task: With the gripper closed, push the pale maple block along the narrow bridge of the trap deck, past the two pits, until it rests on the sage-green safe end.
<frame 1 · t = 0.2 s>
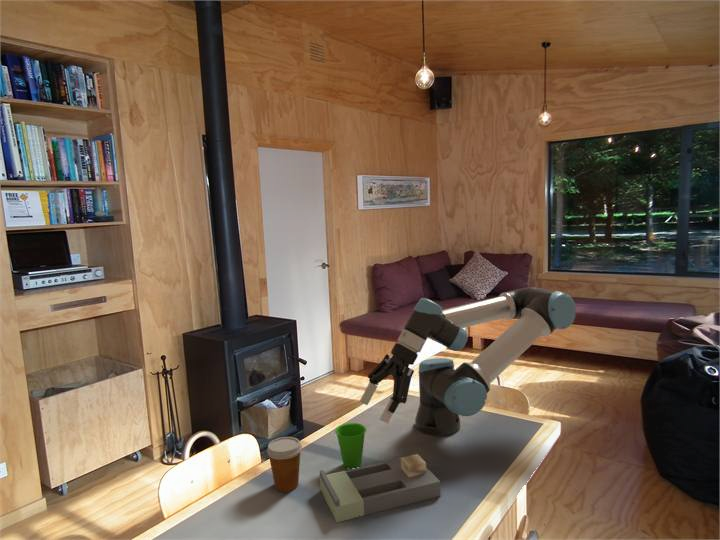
hand: (372, 412, 145), 16 cm above the table, tool tilted 35°, fingers open, 13 cm apart
disposable coffee cup: (286, 486, 136), on the table
trap deck: (379, 493, 131), on the table
cup: (352, 465, 146), on the table
block: (413, 470, 134), point 4 cm above the table, touching trap deck
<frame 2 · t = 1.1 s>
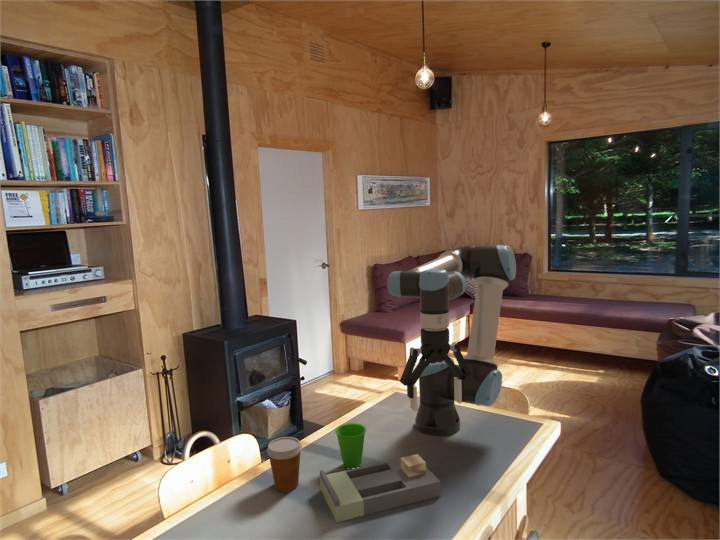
hand: (436, 405, 134), 21 cm above the table, tool pointing down, fingers open, 12 cm apart
nothing on the table moved.
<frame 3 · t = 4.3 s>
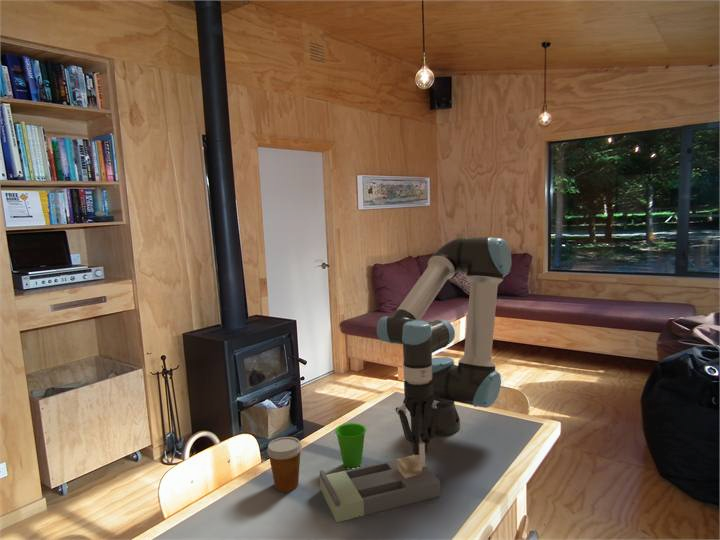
hand: (420, 464, 134), 5 cm above the table, tool pointing down, fingers closed
block: (409, 471, 133), point 4 cm above the table, touching gripper, trap deck
everything else where it was.
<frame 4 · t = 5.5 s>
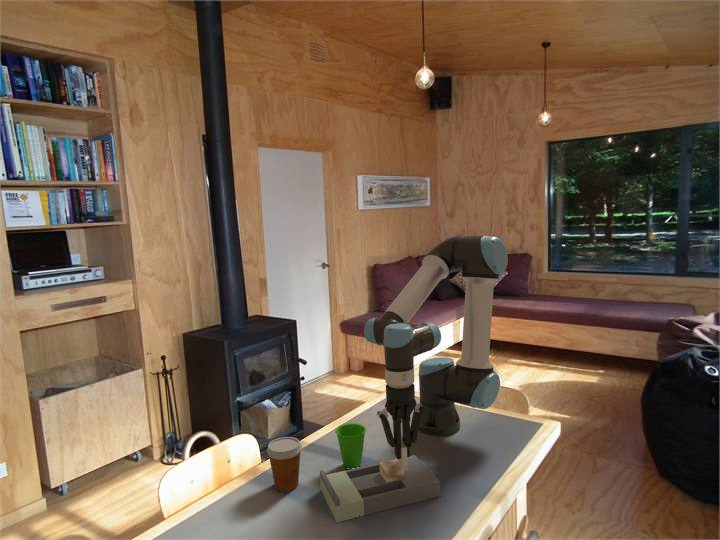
hand: (403, 468, 132), 5 cm above the table, tool pointing down, fingers closed
block: (392, 475, 132), point 4 cm above the table, touching gripper, trap deck
everything else where it was.
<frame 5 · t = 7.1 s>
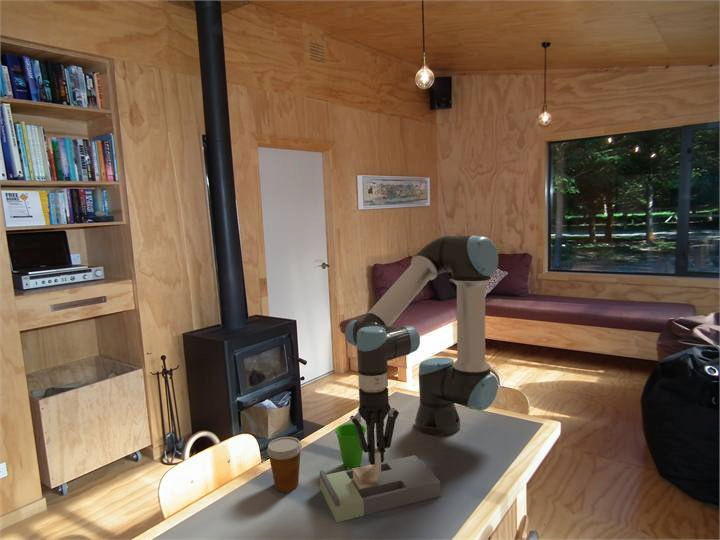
hand: (376, 474, 130), 5 cm above the table, tool pointing down, fingers closed
block: (365, 482, 129), point 4 cm above the table, touching gripper
everything else where it was.
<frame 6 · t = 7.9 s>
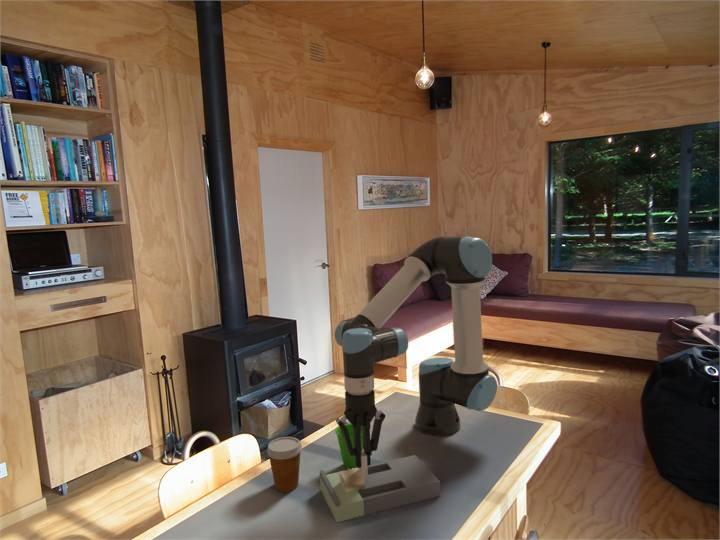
hand: (363, 477, 129), 5 cm above the table, tool pointing down, fingers closed
block: (352, 485, 128), point 4 cm above the table, touching gripper, trap deck
everything else where it was.
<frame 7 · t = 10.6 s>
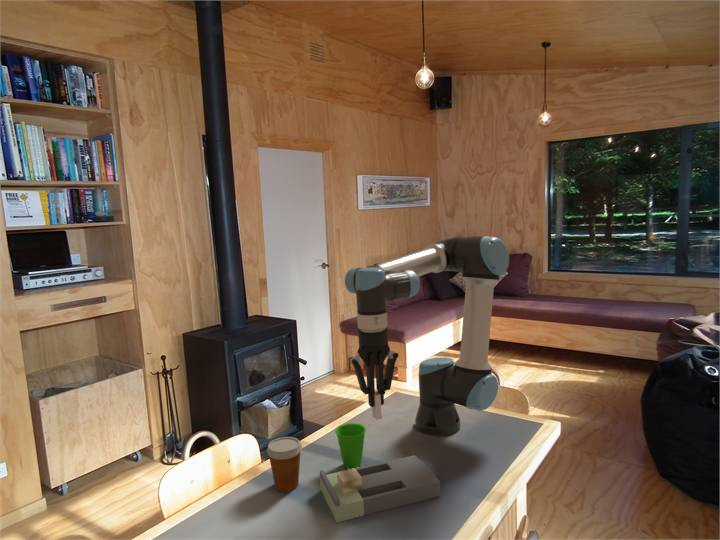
hand: (376, 417, 129), 20 cm above the table, tool pointing down, fingers closed
block: (349, 485, 128), point 4 cm above the table, touching trap deck
everything else where it was.
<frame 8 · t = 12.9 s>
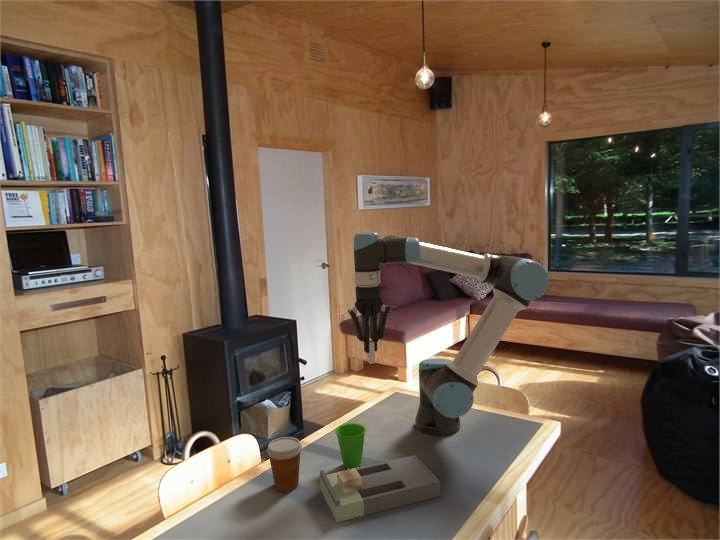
hand: (371, 362, 150), 28 cm above the table, tool pointing down, fingers closed
nothing on the table moved.
at the end: block 1.9 cm from the target spot on the trap deck, point 4.0 cm above the trap deck's base; block tilted 0°; block moved 18.1 cm from its start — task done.
